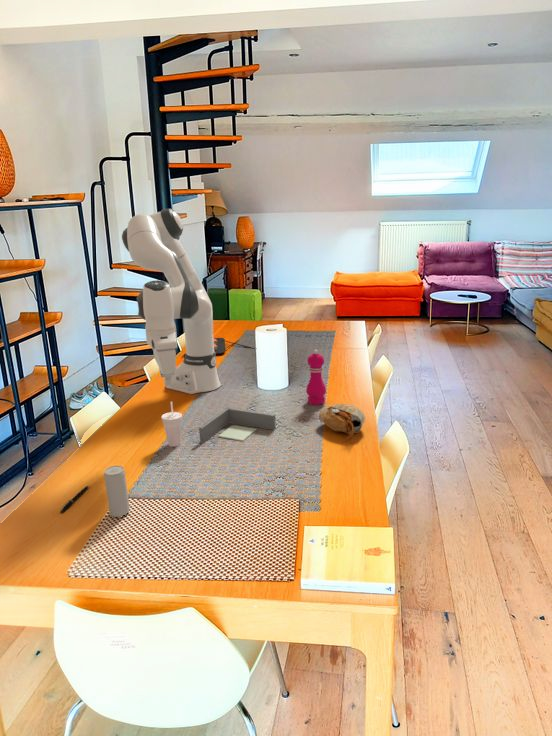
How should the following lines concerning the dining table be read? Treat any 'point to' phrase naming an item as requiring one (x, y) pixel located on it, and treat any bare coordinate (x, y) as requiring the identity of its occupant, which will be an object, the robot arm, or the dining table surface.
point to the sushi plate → (223, 345)
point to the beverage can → (116, 491)
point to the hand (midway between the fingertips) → (165, 381)
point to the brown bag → (343, 418)
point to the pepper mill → (316, 379)
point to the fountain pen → (73, 500)
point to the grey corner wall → (238, 418)
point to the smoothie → (172, 427)
